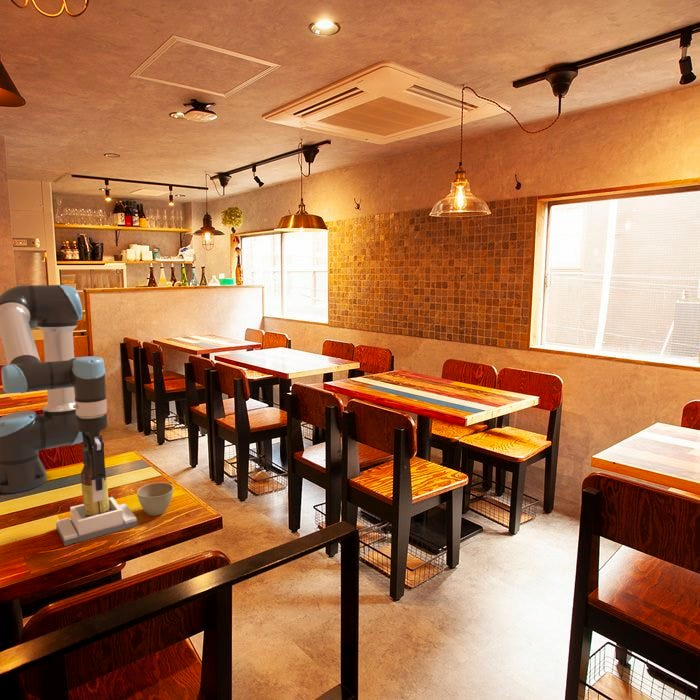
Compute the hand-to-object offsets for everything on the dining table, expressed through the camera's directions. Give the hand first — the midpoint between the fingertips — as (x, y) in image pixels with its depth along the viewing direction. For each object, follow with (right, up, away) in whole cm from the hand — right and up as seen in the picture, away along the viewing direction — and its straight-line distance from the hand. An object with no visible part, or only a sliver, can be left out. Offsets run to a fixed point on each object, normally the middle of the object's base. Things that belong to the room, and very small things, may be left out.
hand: (95, 495), depth 141 cm
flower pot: (+12, -8, +11) cm, 19 cm away
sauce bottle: (0, -6, +1) cm, 6 cm away
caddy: (0, -9, +2) cm, 9 cm away
